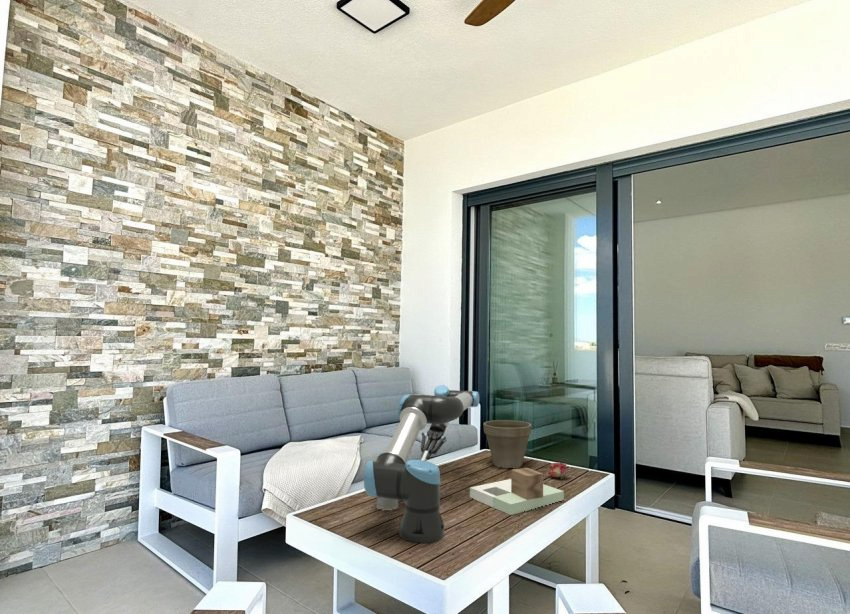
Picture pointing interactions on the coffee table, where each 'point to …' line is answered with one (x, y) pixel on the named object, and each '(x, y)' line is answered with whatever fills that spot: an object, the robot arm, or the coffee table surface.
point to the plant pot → (507, 441)
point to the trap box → (512, 497)
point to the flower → (558, 470)
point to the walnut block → (527, 483)
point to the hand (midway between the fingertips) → (422, 463)
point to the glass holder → (387, 503)
